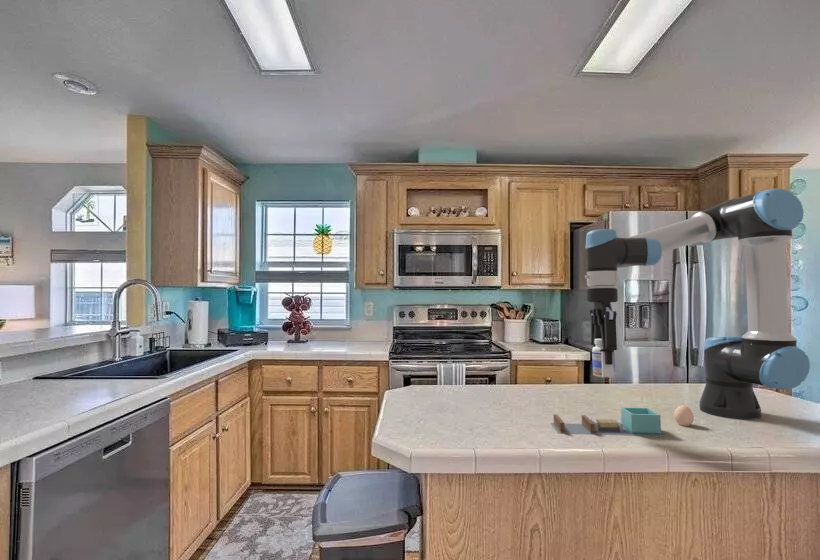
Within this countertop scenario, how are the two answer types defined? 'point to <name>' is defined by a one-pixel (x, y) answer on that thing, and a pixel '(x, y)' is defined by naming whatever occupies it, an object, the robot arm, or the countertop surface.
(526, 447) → the countertop surface
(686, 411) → the egg
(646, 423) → the teal open box
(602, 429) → the cradle base
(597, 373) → the pill bottle
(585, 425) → the trough
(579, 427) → the mat
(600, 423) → the pad
